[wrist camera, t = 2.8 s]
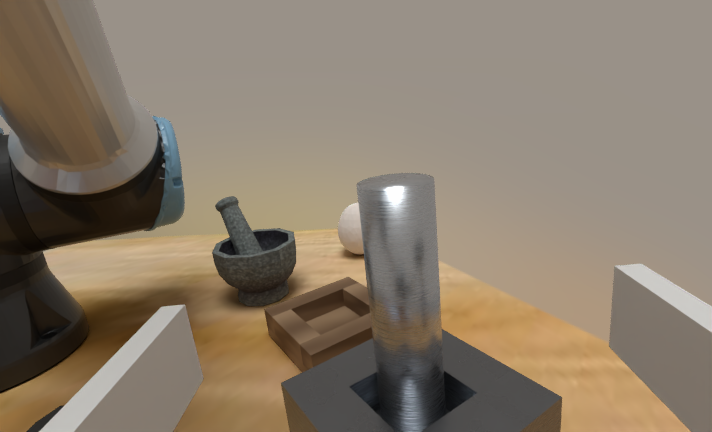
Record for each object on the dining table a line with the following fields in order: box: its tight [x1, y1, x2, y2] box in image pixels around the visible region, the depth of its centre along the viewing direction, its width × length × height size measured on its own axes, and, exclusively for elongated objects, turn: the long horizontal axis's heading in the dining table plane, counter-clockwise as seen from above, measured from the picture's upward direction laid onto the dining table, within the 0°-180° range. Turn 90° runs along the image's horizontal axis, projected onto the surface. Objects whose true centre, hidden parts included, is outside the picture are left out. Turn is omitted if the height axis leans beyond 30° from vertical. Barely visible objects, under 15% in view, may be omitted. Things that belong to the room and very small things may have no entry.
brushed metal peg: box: [357, 173, 446, 432], centre depth 24 cm, size 4×4×16 cm
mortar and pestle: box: [212, 196, 296, 306], centre depth 50 cm, size 11×9×12 cm
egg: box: [338, 203, 364, 255], centre depth 59 cm, size 6×6×8 cm
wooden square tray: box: [264, 277, 373, 372], centre depth 40 cm, size 10×10×3 cm
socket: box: [281, 329, 562, 432], centre depth 26 cm, size 12×12×5 cm
